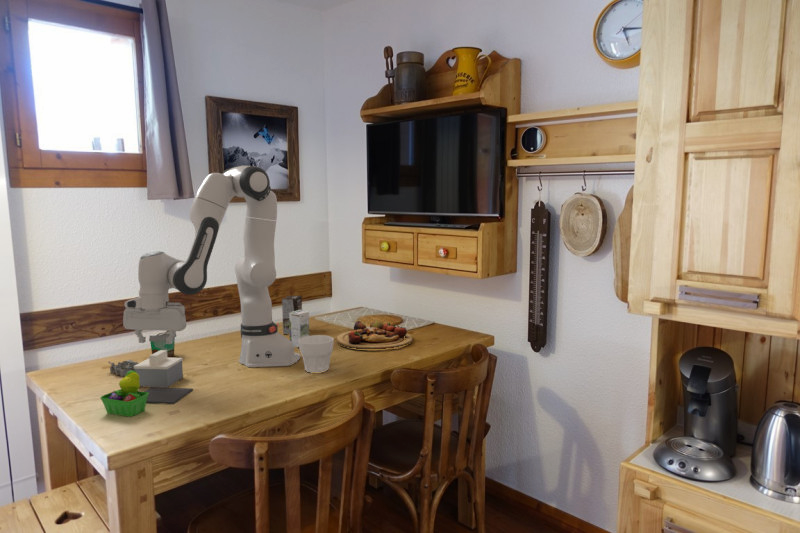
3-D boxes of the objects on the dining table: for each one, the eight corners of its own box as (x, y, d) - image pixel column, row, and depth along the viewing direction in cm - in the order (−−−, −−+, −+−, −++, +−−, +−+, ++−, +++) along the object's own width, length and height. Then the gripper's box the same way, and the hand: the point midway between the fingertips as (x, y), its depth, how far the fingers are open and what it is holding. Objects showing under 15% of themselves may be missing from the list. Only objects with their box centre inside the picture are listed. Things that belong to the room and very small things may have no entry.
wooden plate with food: (364, 357, 217) (365, 336, 216) (321, 340, 242) (321, 321, 241) (428, 345, 237) (428, 325, 236) (382, 330, 262) (382, 312, 261)
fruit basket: (99, 414, 162) (96, 376, 161) (124, 403, 171) (122, 367, 169) (130, 419, 158) (127, 380, 157) (154, 408, 166) (152, 370, 165)
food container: (165, 363, 211) (163, 336, 210) (150, 362, 213) (148, 335, 211) (184, 353, 223) (182, 328, 222) (170, 353, 225) (168, 328, 223)
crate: (183, 377, 194) (182, 360, 194) (167, 387, 185) (166, 369, 184) (152, 376, 196) (151, 359, 195) (135, 386, 186) (134, 368, 185)
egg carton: (107, 372, 202) (106, 361, 201) (128, 367, 207) (128, 356, 207) (122, 378, 195) (121, 366, 194) (143, 372, 201) (142, 361, 200)
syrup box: (299, 344, 236) (297, 309, 235) (310, 345, 233) (309, 310, 232) (289, 347, 231) (288, 312, 230) (301, 349, 228) (299, 313, 227)
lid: (182, 362, 194) (182, 349, 193) (167, 371, 184) (166, 357, 183) (151, 361, 195) (150, 348, 195) (133, 370, 185) (132, 357, 184)
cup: (303, 377, 193) (302, 345, 192) (295, 367, 204) (294, 337, 203) (339, 372, 198) (338, 341, 197) (329, 363, 209) (328, 333, 208)
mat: (192, 390, 181) (192, 388, 181) (173, 404, 170) (173, 402, 170) (151, 388, 183) (151, 387, 183) (129, 402, 171) (129, 400, 171)
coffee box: (296, 335, 251) (295, 299, 249) (282, 334, 252) (281, 299, 250) (303, 330, 260) (301, 295, 258) (289, 329, 261) (288, 295, 259)
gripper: (189, 301, 188) (190, 342, 190) (130, 299, 191) (132, 339, 192) (179, 304, 182) (181, 346, 184) (119, 302, 184) (121, 344, 186)
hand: (155, 343), depth 188 cm, fingers open, 8 cm apart
